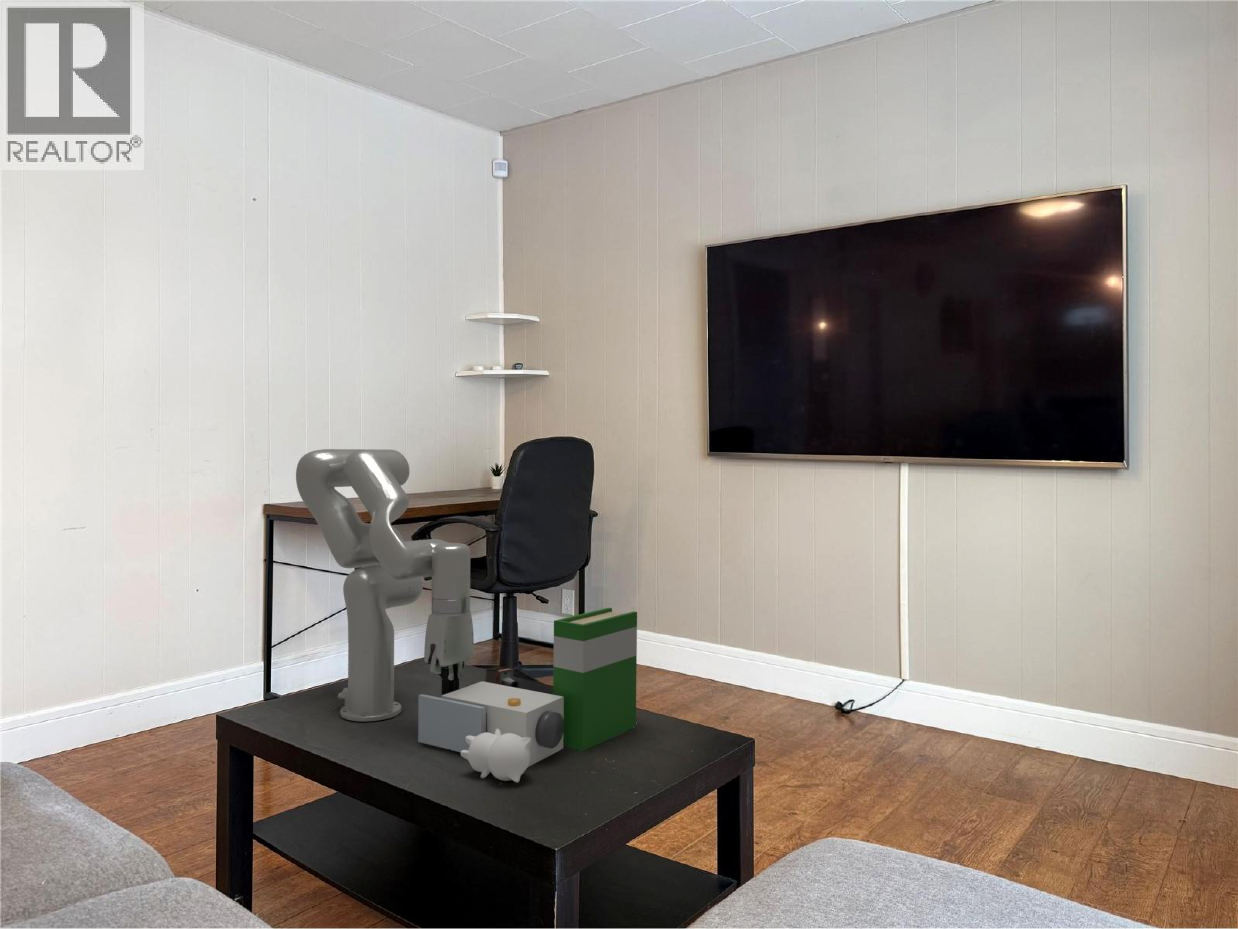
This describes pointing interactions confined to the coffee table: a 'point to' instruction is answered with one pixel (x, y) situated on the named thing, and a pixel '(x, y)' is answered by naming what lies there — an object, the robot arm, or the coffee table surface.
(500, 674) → the electronic device
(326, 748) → the coffee table surface
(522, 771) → the cat figurine
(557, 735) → the white rectangular box
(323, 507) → the robot arm
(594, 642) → the hardback book
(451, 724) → the side door
